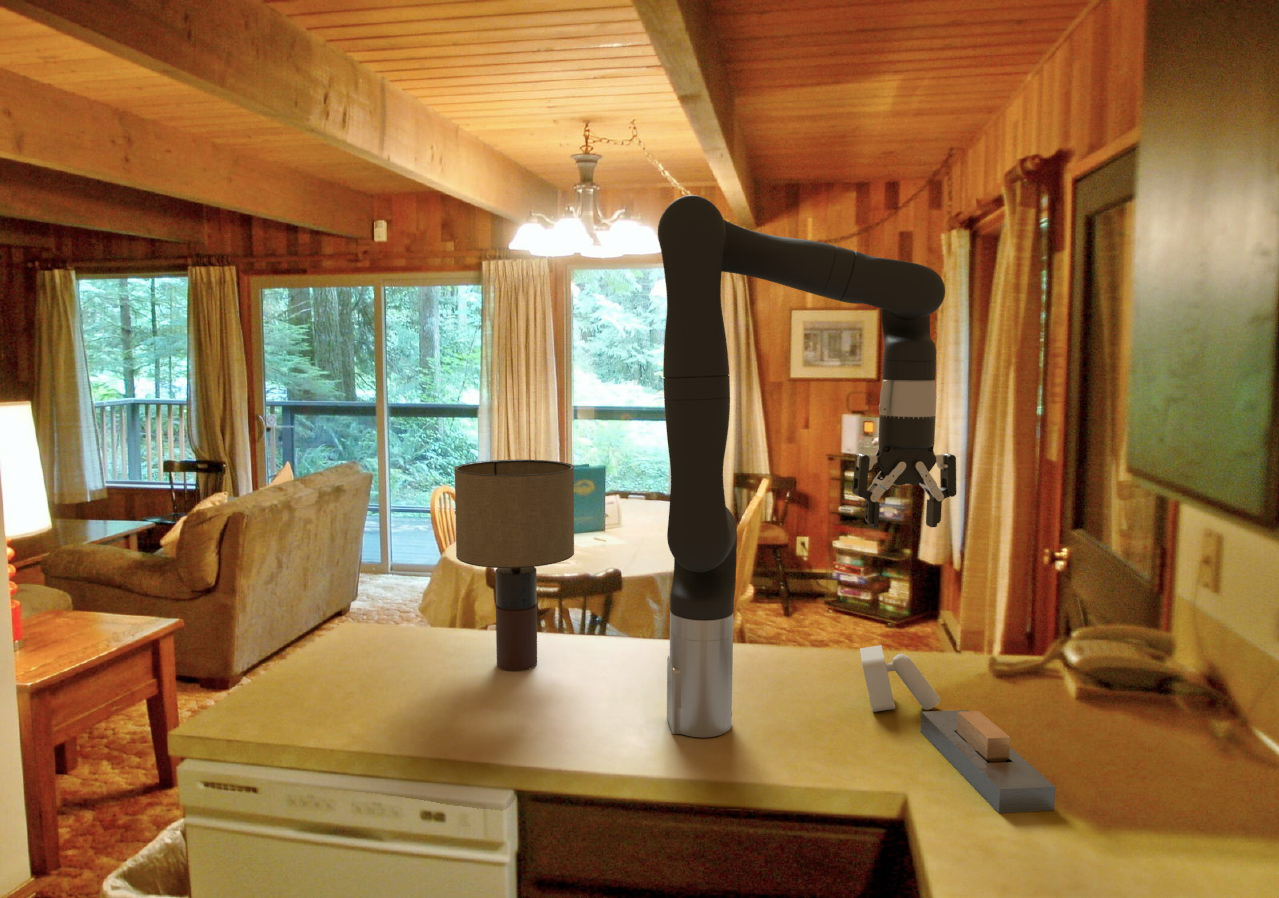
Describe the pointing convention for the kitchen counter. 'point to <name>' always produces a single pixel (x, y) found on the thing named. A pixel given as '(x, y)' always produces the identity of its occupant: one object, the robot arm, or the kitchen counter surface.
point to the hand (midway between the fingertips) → (902, 526)
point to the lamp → (515, 539)
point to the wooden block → (983, 736)
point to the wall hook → (880, 682)
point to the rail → (989, 768)
